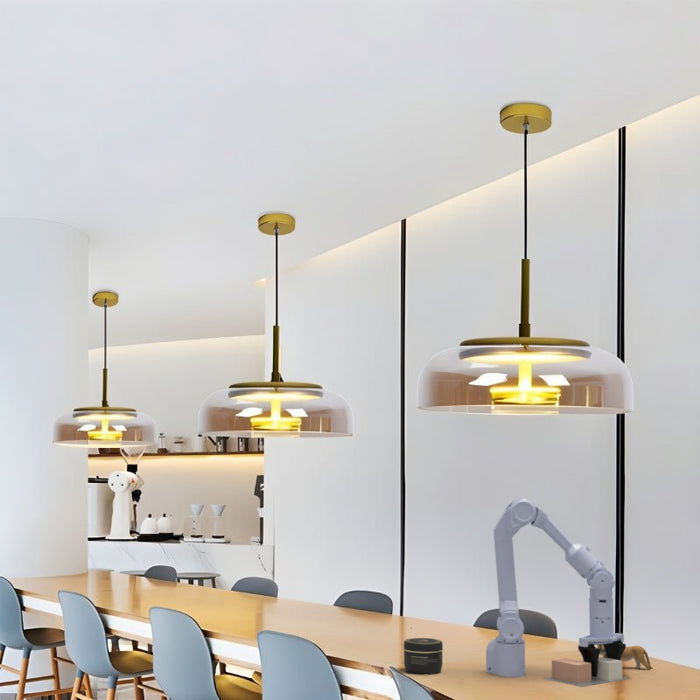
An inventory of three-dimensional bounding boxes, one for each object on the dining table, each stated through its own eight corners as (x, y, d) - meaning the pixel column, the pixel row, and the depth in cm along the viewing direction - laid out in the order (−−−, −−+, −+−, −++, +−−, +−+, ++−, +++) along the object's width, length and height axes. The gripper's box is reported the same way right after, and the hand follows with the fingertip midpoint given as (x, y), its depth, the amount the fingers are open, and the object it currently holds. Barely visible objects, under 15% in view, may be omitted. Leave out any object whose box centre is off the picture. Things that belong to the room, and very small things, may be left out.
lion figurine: (601, 674, 253) (600, 637, 254) (594, 670, 258) (594, 634, 259) (657, 674, 253) (656, 638, 255) (650, 670, 259) (649, 634, 260)
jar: (408, 666, 260) (408, 636, 261) (446, 669, 257) (446, 638, 258) (399, 673, 250) (399, 642, 251) (439, 676, 248) (438, 644, 249)
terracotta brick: (551, 678, 242) (551, 660, 242) (565, 675, 245) (565, 658, 245) (577, 683, 235) (577, 665, 236) (591, 681, 238) (591, 663, 239)
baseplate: (543, 682, 241) (543, 678, 241) (592, 674, 252) (592, 670, 252) (581, 691, 232) (581, 686, 232) (631, 682, 242) (631, 678, 242)
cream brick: (583, 675, 245) (582, 657, 246) (596, 673, 248) (596, 656, 249) (609, 680, 239) (608, 662, 239) (622, 678, 242) (622, 660, 242)
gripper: (594, 621, 238) (596, 680, 236) (633, 617, 247) (635, 674, 245) (572, 618, 244) (573, 675, 242) (610, 614, 252) (611, 669, 250)
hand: (602, 674), depth 244 cm, fingers open, 7 cm apart
